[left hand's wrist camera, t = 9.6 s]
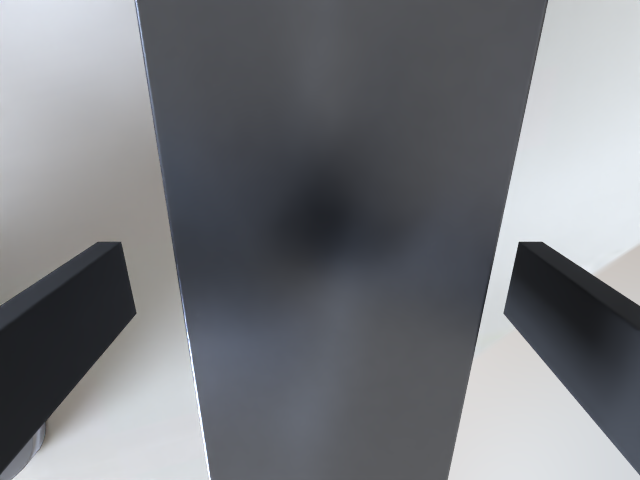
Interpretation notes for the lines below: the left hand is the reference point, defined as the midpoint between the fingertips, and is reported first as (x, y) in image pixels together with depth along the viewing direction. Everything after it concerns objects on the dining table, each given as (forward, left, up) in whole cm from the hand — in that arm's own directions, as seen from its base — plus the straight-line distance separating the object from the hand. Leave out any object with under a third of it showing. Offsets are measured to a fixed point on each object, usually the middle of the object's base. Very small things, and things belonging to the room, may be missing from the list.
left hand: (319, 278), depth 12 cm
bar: (+10, +2, -3) cm, 10 cm away
